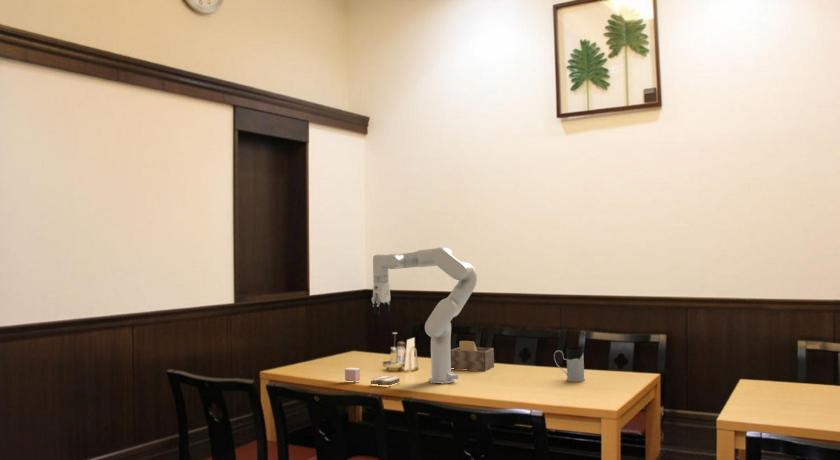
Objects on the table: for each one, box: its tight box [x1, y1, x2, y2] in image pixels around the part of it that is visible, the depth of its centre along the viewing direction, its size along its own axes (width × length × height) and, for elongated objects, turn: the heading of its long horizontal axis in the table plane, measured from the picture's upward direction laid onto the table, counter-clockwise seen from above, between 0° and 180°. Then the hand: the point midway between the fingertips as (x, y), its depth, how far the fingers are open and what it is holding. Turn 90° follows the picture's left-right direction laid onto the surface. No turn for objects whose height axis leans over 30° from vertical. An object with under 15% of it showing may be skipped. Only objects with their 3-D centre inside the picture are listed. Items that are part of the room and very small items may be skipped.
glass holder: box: [553, 346, 586, 382], centre depth 319 cm, size 9×14×15 cm, turn 78°
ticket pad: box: [370, 375, 401, 385], centre depth 316 cm, size 10×10×3 cm
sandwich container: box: [458, 340, 478, 371], centre depth 358 cm, size 9×15×15 cm, turn 152°
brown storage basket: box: [451, 347, 495, 372], centre depth 357 cm, size 20×14×10 cm
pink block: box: [344, 367, 361, 382], centre depth 325 cm, size 6×4×6 cm, turn 64°
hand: (381, 313), depth 332 cm, fingers open, 9 cm apart
